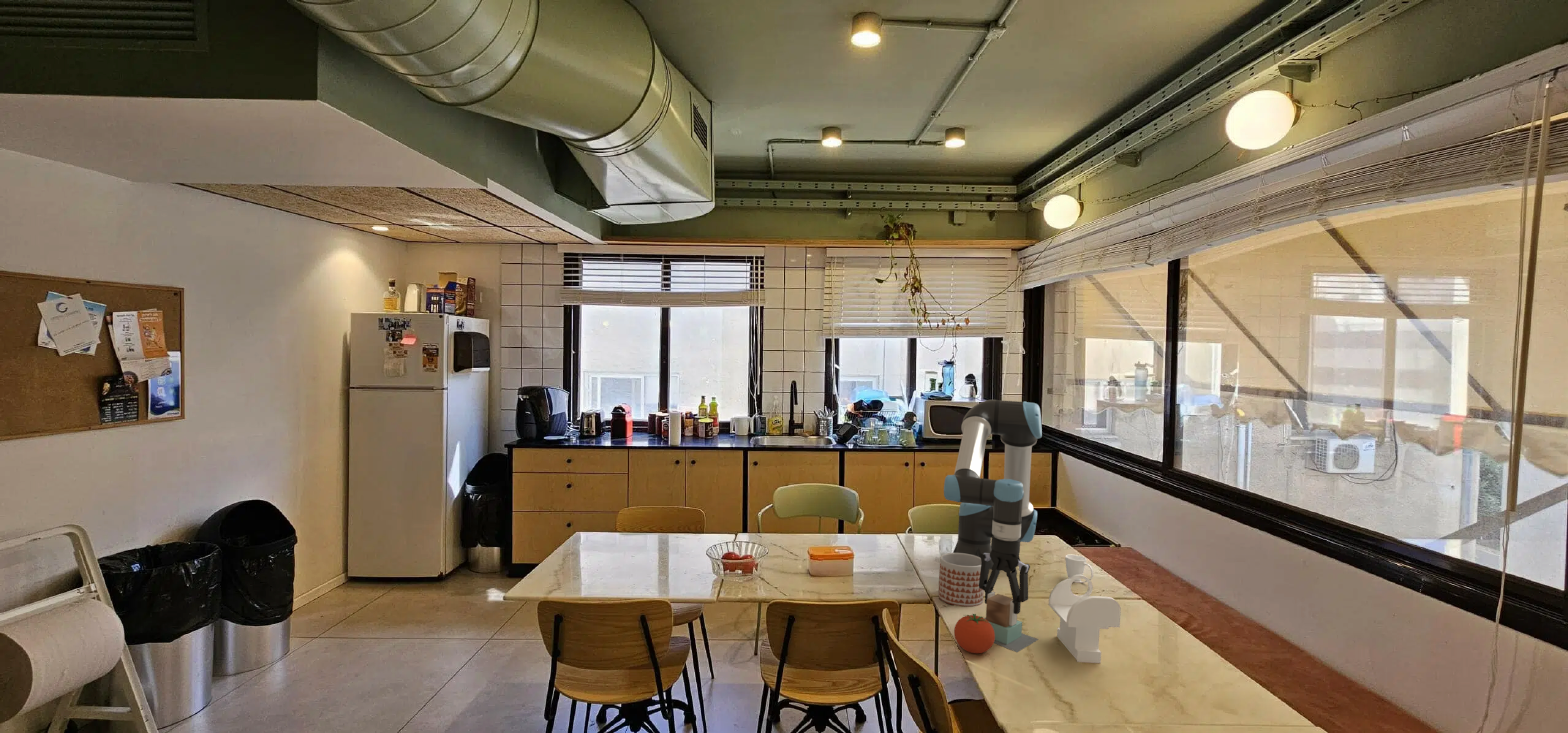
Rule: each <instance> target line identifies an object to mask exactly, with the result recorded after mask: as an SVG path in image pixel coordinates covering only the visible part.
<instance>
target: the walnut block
mask: <svg viewBox="0 0 1568 733" xmlns="http://www.w3.org/2000/svg"><path fill="white" fill-rule="evenodd" d="M1012 600H1013V597H1010V596H1007V595H1003V594H999V593H995V595H994V596H992V597H990V598H988V599H987V604H986V609H985V610H986V612H985V618H986V620H987V621H989V622H992V623H995V624H997V625H1000V626H1003V627H1005V628H1006V627H1008V626H1010V625H1009V617H1010V601H1012Z"/></svg>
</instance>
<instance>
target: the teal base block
mask: <svg viewBox="0 0 1568 733" xmlns="http://www.w3.org/2000/svg"><path fill="white" fill-rule="evenodd" d="M983 618H984V619H986V617H983ZM988 622H989V621H988ZM989 623H990V624H991V625H992V627H993V629H994V633H995V640H996V641H999V642H1002V643H1004V644H1009V643H1010V642H1012V641H1014V640H1016V639H1018V638H1019V637H1021V635H1022V632H1023V621H1021V620H1018V619H1017V624H1015V625H1013V626H1008V627H1006V628H1005V627H1003V626H1000V625H997V624H995V623H992V622H989Z"/></svg>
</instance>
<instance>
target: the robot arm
mask: <svg viewBox="0 0 1568 733" xmlns="http://www.w3.org/2000/svg"><path fill="white" fill-rule="evenodd" d="M960 427H961V432H962V438H961V441H960V445H959V446H960V447H959V451H958V456H957V460H956V464H955V467H954V468H955V469H954V473H953V474H947V475H946V476H945V478H944V483H943V484H944V485H943V496H944V498H945V500H946V501H952V502H956V503H960V505H959V510H958V511H959V512H958V527H957V528H958V529H957V542H956V544H955V547H954V549H953V552H952V553H965V554H970V555H974V556H977V557H980V558H981V562H982V563H981V571H980V580H979V588H980V589H983V590H984V603H985V605H987V599H988V598H990V597H992V596H994V595H996V592H994V588H995V585H996V582H997V579H998V578H999V574H1000V572H1001V571H1003V572H1004V573H1006V577H1007V579H1008V583H1009V588H1010V591H1011V598H1012V599H1013V600H1012V601H1010V617H1009V625H1010V626H1013V625H1015V624H1017V620H1018V615H1019V614H1020V613H1021V607H1022V606H1021V603H1024V602H1027V601H1028V600H1029V571H1030V568H1031V564H1028V563H1026V564H1025V563H1024V562H1022V561H1021V558H1020V551H1021V543H1030V542H1031V541H1033V539H1034V536H1035V532H1036V526H1037V520H1038V510H1036V509H1034V505H1033V504H1032V502H1031V501H1030V492H1031V491H1030V488H1031V487H1030V486H1031V472H1032V471H1031V468H1032V467H1031V466H1032V448H1033V446H1035V445H1036V444H1037V441H1038V439H1041V438H1042V437H1043V434H1042V433H1043V431H1042V430H1043V429H1042V416H1041V408H1040V406H1039V404H1038V403H1035V402H1029V401H1028V402H1027V401H1016V400H1001V399H1000V400H998V399H987V400H985V401H981V402H979V403H977V404H976V405H974V406H972V407H971V408H970V409H969V410H968V411H967V413H966V414H965V415H964V417H963V419H962V423H961V426H960ZM990 435H999V436H1000V440H1001V442H1002V443H1003V444H1004V466H1003V467H1004V470H1003V478H1002V479H1001V478H1000V479H990V478H989V479H988V478H981V473H982V468H983V463H984V457H985V451H986V450H985V449H986V444H987V440H988V438H989V437H990ZM1017 567H1018V570H1019V573H1018V571H1017ZM990 570H991V572H990ZM989 572H990V574H989ZM1017 574H1019V580H1018V576H1017Z"/></svg>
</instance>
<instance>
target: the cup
mask: <svg viewBox="0 0 1568 733" xmlns="http://www.w3.org/2000/svg"><path fill="white" fill-rule="evenodd" d="M1064 557H1065V558H1064V559H1065V568H1066V574H1067V577H1068V578H1067V579H1070V578H1071V577H1072V576H1074V575H1078V574H1080V575H1084V572H1085V569H1086V566H1087V567H1088V568H1089V569H1090V573H1091V574H1090V575H1091V576H1090V577H1089V579H1090V581H1091V580H1092V579H1093V578H1094V569H1093V567H1092V565H1091V564H1089V563H1087V558H1086V557H1084V556H1083V555H1079V554H1078V555H1077V554H1066V555H1065V556H1064ZM1073 583H1077V584H1078V583H1079V584H1085V583H1087V581H1086V580H1084V581H1082V579H1076V580H1075V581H1074V582H1073Z"/></svg>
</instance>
